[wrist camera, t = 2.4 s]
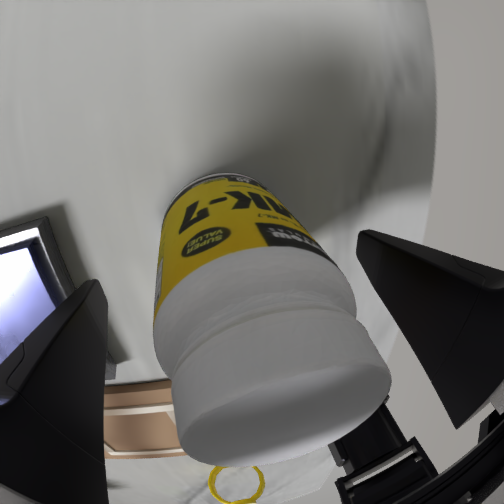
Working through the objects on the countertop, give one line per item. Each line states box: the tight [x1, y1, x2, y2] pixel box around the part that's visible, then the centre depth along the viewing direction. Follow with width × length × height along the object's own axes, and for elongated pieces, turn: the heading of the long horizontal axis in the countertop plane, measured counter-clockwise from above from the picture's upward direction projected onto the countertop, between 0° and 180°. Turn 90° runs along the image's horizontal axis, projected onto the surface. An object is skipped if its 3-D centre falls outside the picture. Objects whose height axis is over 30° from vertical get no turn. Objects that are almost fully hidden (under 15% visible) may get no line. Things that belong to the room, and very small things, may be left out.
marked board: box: [104, 380, 187, 459], centre depth 17 cm, size 12×12×1 cm
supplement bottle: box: [153, 173, 392, 467], centre depth 8 cm, size 5×5×8 cm
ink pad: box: [0, 217, 117, 380], centre depth 10 cm, size 9×9×2 cm
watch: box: [208, 466, 265, 504], centre depth 23 cm, size 6×3×6 cm, turn 101°
